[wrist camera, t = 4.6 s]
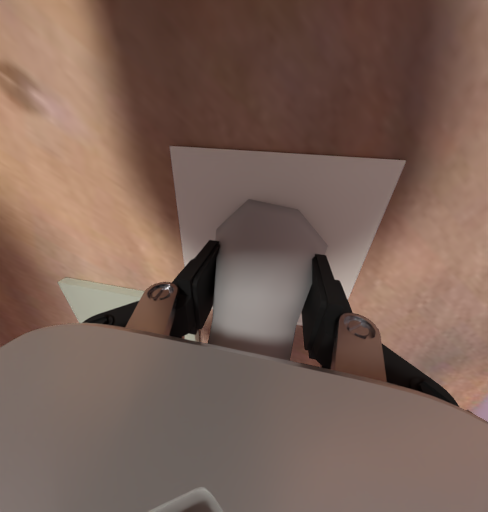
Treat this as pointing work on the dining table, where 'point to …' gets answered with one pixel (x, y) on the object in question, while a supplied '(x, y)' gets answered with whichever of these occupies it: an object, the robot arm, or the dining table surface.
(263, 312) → the flask
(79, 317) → the coaster
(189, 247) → the white flat square
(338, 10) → the dining table surface
